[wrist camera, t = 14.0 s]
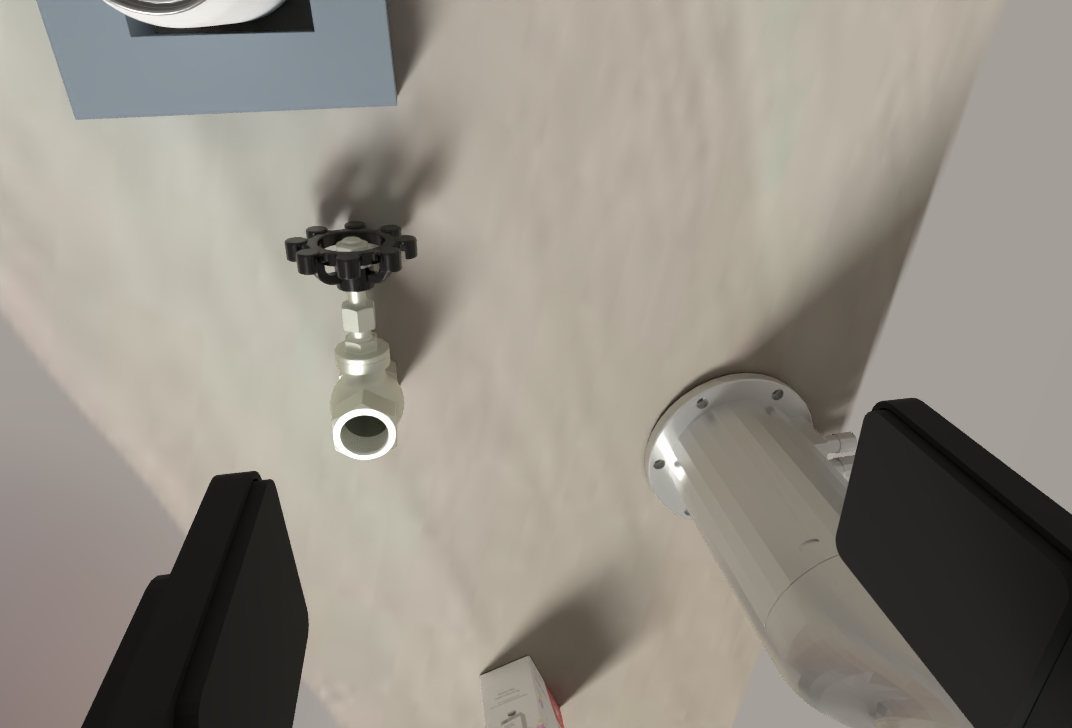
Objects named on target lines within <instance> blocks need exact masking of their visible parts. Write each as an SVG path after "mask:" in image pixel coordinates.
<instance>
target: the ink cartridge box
mask: <svg viewBox="0 0 1072 728" xmlns="http://www.w3.org/2000/svg"><path fill="white" fill-rule="evenodd" d="M479 681H480V689H481V698H482V706H483V714H484V722H485V728H564V725H563V720H562V716H561V712H560V708H559V707H558V705H557V704H556V702H555V700H554V698H553V697H552V695H551V693H550V691H549V690H548V688H547V686H546V684H545V682H544V681H543V679H542V677H541V675H540V674H539V672H538V670H537V668H536V667H535V665H534V663H533V661H532V659H531V658H530V656H526V657H523V658H521V659H519V660H516V661H514V662H511V663H509V664H507V665H504V666H502V667H500V668H497V669H495V670H492V671H490V672H488V673H485V674H483V675H481V676H480V677H479Z"/></svg>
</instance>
